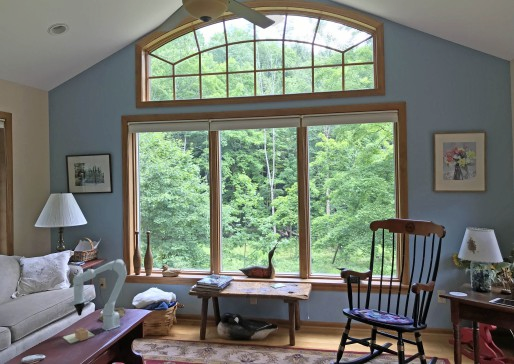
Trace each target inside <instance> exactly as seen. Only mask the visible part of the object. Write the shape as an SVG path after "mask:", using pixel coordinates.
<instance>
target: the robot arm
mask: <svg viewBox="0 0 514 364" xmlns="http://www.w3.org/2000/svg"><path fill="white" fill-rule="evenodd" d="M107 270H109V271H113V270H114V272H116V273H117V275H118V278H117V280H116V282H115V284H114V287H113V289H112V291H111V294H110V296H109V299H108V301H107V302H106V303H105V304H104V306H103V307H104V308H103V310H102V313H103V321H102V322H103V326H101V327H100V329H102V330H104V331H106V332H107V331H109V330H113V329H116V328H119V327H121V324H120V323H121V321H120V319H119V313H118V312H114V308H116V307H115V305H116V302H117V300H118V297H119V295H120V293H121V291H122V288H123V286H124V283H125V281H126V278H127V277H128V276H127V275H128V271H127V266H126V263H125V262H124V260H123V259H122V258H117V259H115V260H112V261H109V262H107V263H105V264H103V265H101V266H99V267H97V268H95V269H93V268H88V269H87V270H86V271H84V272H80V273H78V274H76V275H75V276H74V277H73V278H72V283H73V301H70V302H67V303H66V307H67V308H70V307H74V308H75V310H76V313H77V316H79V317H80V316H82V313H83V311H84V308H85V305H86V304H85V303H88V302H91V301H92V297H87V298H85V287H84V282H87V281H89V280H91V279H93V278H96V276H97V275H98V274H100V273H103V272H105V271H107Z"/></svg>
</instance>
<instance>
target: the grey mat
mask: <svg viewBox="0 0 514 364" xmlns="http://www.w3.org/2000/svg"><path fill="white" fill-rule="evenodd" d="M87 331H88V339H89V338H92V337H95V334H94V333H92V332H91V331H89V330H87ZM62 339H63V340H65V341H66V342H67V343H69V344H73V343H74V344H75V343H76V342H81V341H80V340H79V339H77V338H76V337H75V332H74V333H71V334H69V335H68V334H67V335H64V336H63V337H62Z"/></svg>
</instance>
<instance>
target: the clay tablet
mask: <svg viewBox="0 0 514 364" xmlns="http://www.w3.org/2000/svg"><path fill="white" fill-rule="evenodd" d="M114 312H118V313H119V320H120V319H121V318H123V317H124V316H125V314H126V310H125V308H124V306H123V307H114ZM98 319H99V321H101V322H103V312H102V313H101V314H100V315H99V317H98Z"/></svg>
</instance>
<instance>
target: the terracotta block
mask: <svg viewBox="0 0 514 364" xmlns="http://www.w3.org/2000/svg"><path fill="white" fill-rule="evenodd" d="M88 331H89V330H87V329H85V328H84V327H80V328H77V329H75V330H74V333H75V337H76V338H77V339H79V340H80V341H79V342H82V341H85V340H87V339H89V338H88Z"/></svg>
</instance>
